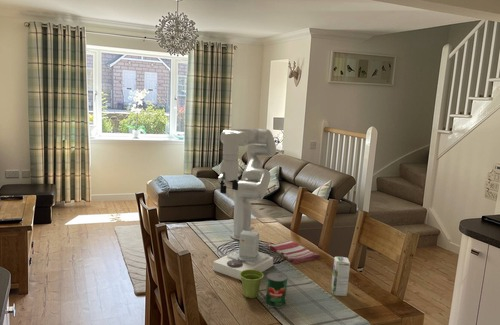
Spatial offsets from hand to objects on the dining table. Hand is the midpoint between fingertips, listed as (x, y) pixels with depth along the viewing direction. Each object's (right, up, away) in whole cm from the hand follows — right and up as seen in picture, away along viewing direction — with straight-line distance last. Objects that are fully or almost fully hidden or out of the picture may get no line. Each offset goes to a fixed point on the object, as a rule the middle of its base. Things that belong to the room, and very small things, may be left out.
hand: (229, 191), depth 207 cm
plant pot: (+11, -39, -41) cm, 57 cm away
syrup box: (+47, -39, -36) cm, 71 cm away
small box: (+10, -29, -14) cm, 33 cm away
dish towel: (+32, -32, +5) cm, 46 cm away
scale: (+7, -34, -16) cm, 38 cm away
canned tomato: (+20, -40, -47) cm, 65 cm away
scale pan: (+10, -29, -14) cm, 34 cm away
